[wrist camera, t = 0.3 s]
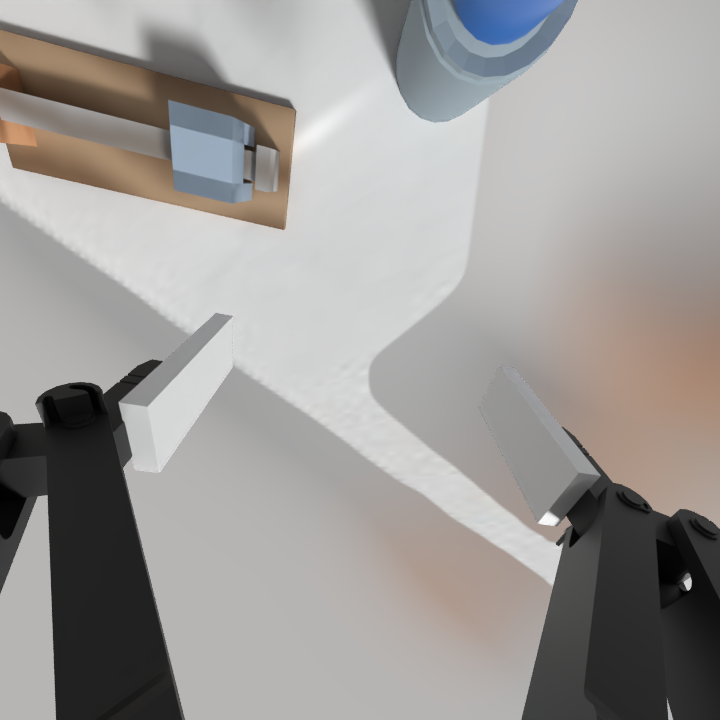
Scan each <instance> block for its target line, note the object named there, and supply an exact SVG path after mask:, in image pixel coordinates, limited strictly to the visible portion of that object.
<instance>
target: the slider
mask: <svg viewBox="0 0 720 720" xmlns="http://www.w3.org/2000/svg"><path fill="white" fill-rule="evenodd" d="M168 105H169V120H170V135H171V150H172V164H173V179H174V190H176V191H180V192H184V193H189V194H193V195H197V196H201V197H206V198H210V199H214V200H218V201H223V202H227V203H231V204H232V203H238V202H244V201H250V200H252V186H253V183H249V182H244V181H243V171H244V145H246V146H250V147H254V137H255V128H254V127H252V126H250V125H248V124H246V123H244V122H242V121H240V120H238V119H236V118H234V117H232V116H228V115H224V114H220V113H217V112H213V111H209V110H205V109H201V108H198V107H194V106H190V105H186V104H182V103H178V102H175V101H171V100H168Z"/></svg>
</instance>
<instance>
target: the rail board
mask: <svg viewBox="0 0 720 720" xmlns="http://www.w3.org/2000/svg"><path fill="white" fill-rule="evenodd" d="M168 100H171V101H175V102H178V103H182V104H186V105H190V106H194V107H198V108H201V109H205V110H209V111H213V112H217V113H220V114H224V115H228V116H232V117H234V118H236V119H238V120H240V121H242V122H244V123H246V124H248V125H250V126H252V127H254V128H255V137H254V147H250V146H246V145H244V171H243V181H244V182H249V183H253V186H252V200H250V201H244V202H238V203H232V204H231V203H227V202H223V201H218V200H214V199H210V198H206V197H201V196H197V195H193V194H189V193H184V192H180V191H176V190H174V179H173V164H172V150H171V135H170V120H169V105H168ZM295 118H296V111H295V110H294V109H291V108H288V107H284V106H280V105H277V104H273V103H269V102H265V101H262V100H258V99H254V98H251V97H247V96H243V95H240V94H236V93H232V92H228V91H225V90H221V89H217V88H214V87H210V86H206V85H203V84H199V83H195V82H192V81H188V80H184V79H180V78H177V77H173V76H169V75H166V74H162V73H158V72H155V71H151V70H147V69H144V68H140V67H136V66H132V65H129V64H125V63H121V62H118V61H114V60H110V59H107V58H103V57H99V56H96V55H92V54H88V53H84V52H81V51H77V50H73V49H70V48H66V47H62V46H59V45H55V44H51V43H48V42H44V41H40V40H36V39H33V38H29V37H25V36H22V35H18V34H14V33H11V32H7V31H3V30H0V143H6V145H7V149H8V152H9V156H10V159H11V163H12V166H13V168H17V169H21V170H25V171H30V172H34V173H38V174H43V175H47V176H52V177H56V178H60V179H65V180H69V181H73V182H78V183H82V184H86V185H91V186H95V187H99V188H104V189H108V190H112V191H117V192H121V193H125V194H130V195H134V196H138V197H143V198H147V199H152V200H156V201H160V202H165V203H169V204H173V205H178V206H182V207H186V208H191V209H195V210H199V211H204V212H208V213H212V214H217V215H221V216H225V217H230V218H234V219H238V220H243V221H247V222H251V223H256V224H260V225H265V226H269V227H273V228H278V229H282V230H284V229H285V226H286V215H287V205H288V194H289V183H290V172H291V162H292V151H293V140H294V129H295Z"/></svg>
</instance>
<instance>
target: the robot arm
mask: <svg viewBox="0 0 720 720" xmlns="http://www.w3.org/2000/svg"><path fill="white" fill-rule="evenodd" d="M232 367H233V316H229V315H224V314H218V313H216V314H214V315H213V316H212V317H211V318H210V319H209V320H208V321H207V322H206V323H205V324H204V325H202V326H201V327H200V328H199V329H198V330H197V331H196V332H195V333H194V334H193V335H192V336H190V337H189V338H188V339H187V340H186V341H185V342H184V343H183V344H182V345H181V346H180V347H179V348H177V349H176V350H175V351H174V352H173V353H172V354H171V355H170V356H169V357H168V358H166V359H165V360H164V361H158V360H150V361H148V362H145V363H143V364H141V365H138V366H137V367H136V368H135V369H133V370H132V371H131V372H130V373H128V376H125V377H124V378H123V379H121V380H120V382H119V383H116V384H115V385H114V386H113V387H112V388H111V389H109V390H108V391H107V392H106V393H104V394H103V391H102V389H101V388H100V387H99V386H97V385H95V384H92V383H85V382H77V383H68V384H65V385H61V386H57V387H55V388H52V389H50V390H48V391H46V392H44V393H43V394H42V395H41V396H39V397H38V399H37V401H36V403H35V404H36V407H37V409H38V412H39V414H40V417H41V419H42V422H43V423H31V424H15V425H14V424H13V421H12V419H11V417H10V416H9V415H8V414H7V413H4V412H1V411H0V593H1V590H2V588H3V585H4V583H5V580H6V577H7V575H8V572H9V570H10V567H11V564H12V562H13V558H14V556H15V554H16V551H17V549H18V546H19V543H20V541H21V538H22V536H23V533H24V530H25V528H26V525H27V523H28V520H29V517H30V515H31V512H32V509H33V507H34V504H35V502H36V499H37V496H42V495H48V515H49V543H50V569H51V595H52V622H53V647H54V648H53V649H54V674H55V699H56V700H55V701H56V720H185V718H184V714H183V710H182V706H181V702H180V698H179V694H178V690H177V686H176V682H175V678H174V674H173V670H172V666H171V662H170V658H169V653H168V650H167V645H166V641H165V637H164V633H163V629H162V625H161V622H160V617H159V613H158V609H157V605H156V601H155V597H154V593H153V588H152V584H151V580H150V576H149V572H148V568H147V564H146V560H145V556H144V552H143V548H142V544H141V540H140V536H139V532H138V528H137V524H136V519H135V516H134V512H133V507H132V504H131V500H130V495H129V491H128V487H127V483H126V479H125V475H124V471H123V467H124V466H125V465H126V463H127V462H128V461H129V460H130V459H131V458H132V462H133V466H134V470H140V471H147V472H155V473H160V471H161V470H162V469H163V467H164V466H165V464H166V463H167V461H168V460H169V459H170V457H171V456H172V454H173V452H174V451H175V450H176V448H177V447H178V445H179V444H180V442H181V441H182V440H183V438H184V437H185V435H186V434H187V432H188V431H189V429H190V428H191V426H192V425H193V424H194V422H195V421H196V419H197V418H198V416H199V415H200V414H201V412H202V411H203V409H204V407H205V406H206V405H207V403H208V402H209V400H210V399H211V398H212V396H213V395H214V393H215V392H216V390H217V389H218V387H219V386H220V384H221V383H222V382H223V380H224V379H225V377H226V376H227V374H228V373H229V371H230V370H231V369H232ZM478 408H479V410H480V412H481V414H482V416H483V418H484V420H485V422H486V424H487V425H488V427H489V429H490V431H491V433H492V435H493V437H494V439H495V441H496V443H497V445H498V447H499V449H500V451H501V453H502V455H503V457H504V459H505V461H506V462H507V465H508V466H509V469H510V471H511V473H512V474H513V476H514V478H515V480H516V482H517V484H518V486H519V488H520V490H521V492H522V494H523V496H524V498H525V500H526V502H527V504H528V506H529V508H530V510H531V512H532V514H533V515H534V518H535V520H536V522H537V523H538V524H544V525H552V526H558V524H559V523H560V522H561V521H562V520H563V519H564V518H565V516H567V518H568V519H569V521H570V522H571V524H572V526H571V527H570V528H569V529H568V530H567V531H566V532H565V533H564V534H563V535H562V537H561V538H560V539H559V540H558V541H557V543H556V545H558V546H559V545H560V544H561V543H564V544H563V548H562V552H561V557H560V561H559V565H558V569H557V573H556V578H555V582H554V586H553V590H552V594H551V598H550V603H549V607H548V611H547V615H546V620H545V624H544V628H543V632H542V636H541V640H540V645H539V649H538V653H537V657H536V661H535V665H534V669H533V674H532V678H531V682H530V686H529V690H528V695H527V699H526V703H525V707H524V711H523V715H522V720H668V709H667V699H668V703H669V706H670V710H671V713H672V717H673V720H720V529H719V528H718V527H717V526H716V525H715V524H714V523H713V522H711V521H709V520H708V519H707V518H705V517H703V516H701V515H699V514H697V513H695V512H692V511H689V510H686V509H680V510H679V511H677V512H676V513H675V514H674V515H673V516H672V517H669V516H666V515H664V514H661V513H659V512H656V511H653V510H652V508H651V506H650V505H649V504H648V503H647V501H646V500H644V499H643V498H642V497H641V496H640V495H639V494H637V493H636V492H634V491H633V490H631V489H630V488H628V487H625V486H623V485H621V484H616V483H613V482H612V481H611V480H610V479H609V477H608V476H607V475H606V474H605V473H604V471H603V470H602V469H601V468H600V467H599V465H598V464H597V463H596V462H595V460H594V459H593V458H592V457H591V456H589V453H588V452H587V451H586V450H585V448H582V445H581V444H580V443H579V441H578V440H577V439H576V437H575V436H573V435H572V434H571V433H570V432H569V431H567V430H566V429H565V428H564V427H561V426H560V425H559V424H558V422H557V421H556V420H555V418H554V417H553V416H552V415H551V413H550V412H549V411H548V410H547V408H546V407H545V406H544V405H543V403H542V402H541V401H540V400H539V399H538V397H537V396H536V395H535V394H534V392H533V391H532V390H531V389H530V387H529V386H528V385H527V384H526V382H524V380H523V379H522V377H521V376H520V375H519V374H518V373H517V371H516V370H515V369H514V368H513V367H508V366H502V365H499V367H498V369H497V371H496V372H495V375H494V377H493V379H492V381H491V383H490V385H489V387H488V389H487V391H486V393H485V395H484V397H483V399H482V401H481V403H480V405H479V407H478ZM690 577H691V579H692V586H691V589H690V590H689V591H687V589H686V587H685V585H684V583H683V582H684V581H685V580H687V579H688V578H690Z"/></svg>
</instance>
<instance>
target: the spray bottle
mask: <svg viewBox="0 0 720 720" xmlns="http://www.w3.org/2000/svg"><path fill="white" fill-rule="evenodd" d="M577 1H578V0H411V2H410V5H409V9H408V13H407V16H406V20H405V24H404V27H403V31H402V35H401V39H400V43H399V47H398V52H397V56H396V77H397V81H398V85H399V89H400V93H401V95H402V97H403V99H404V100H405V102H406V104H407V105H408V107H409V109H411V110H412V111H413V112H414V113H415V114H416V115H418V116H419V117H420V118H422V119H425V120H428V121H431V122H444V121H449V120H451V119H454V118H456V117H458V116H460V115H462V114H463V113H465V112H466V111H468V110H469V109H471V108H472V107H474V106H475V105H477V104H478V103H480V102H481V101H483V100H484V99H486V98H487V97H489V96H490V95H492V94H493V93H495V92H496V91H498V90H499V89H501V88H502V87H503V86H505V85H507V84H508V83H510V82H511V81H512V80H514V79H516V78H517V77H519V76H520V75H521V74H523V73H524V72H525V71H526V70H528V69H529V68H530V67H531V66H532V65H533V64H534V63H535V62H537V61H538V60H539V59H540V58H541V57H542V56H543V55H544V54H545V53H546V52H547V51H548V49H549V48H550V46H551V45H552V43H553V42H554V41H555V39H556V38H557V36H558V35H559V33H560V32H561V30H562V29H563V28H564V26H565V24H566V23H567V21H568V20H569V19H570V17H571V15H572V13H573V10H574V8H575V6H576V3H577Z"/></svg>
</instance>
